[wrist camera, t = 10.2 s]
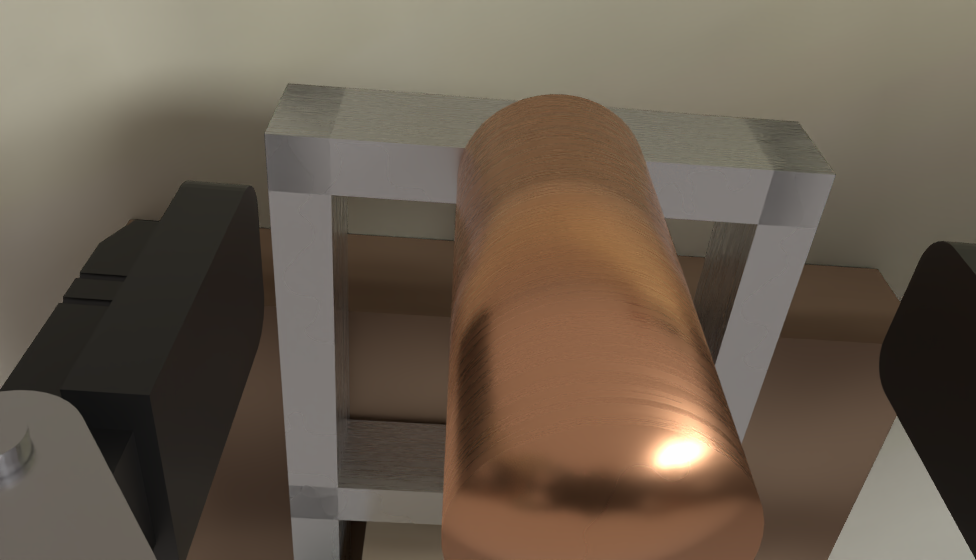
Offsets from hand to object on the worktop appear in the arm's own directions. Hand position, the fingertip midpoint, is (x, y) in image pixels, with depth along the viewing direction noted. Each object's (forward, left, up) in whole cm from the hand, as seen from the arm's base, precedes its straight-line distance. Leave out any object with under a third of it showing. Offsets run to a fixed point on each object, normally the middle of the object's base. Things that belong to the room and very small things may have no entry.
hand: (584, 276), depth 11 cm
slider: (+8, 0, -6) cm, 10 cm away
